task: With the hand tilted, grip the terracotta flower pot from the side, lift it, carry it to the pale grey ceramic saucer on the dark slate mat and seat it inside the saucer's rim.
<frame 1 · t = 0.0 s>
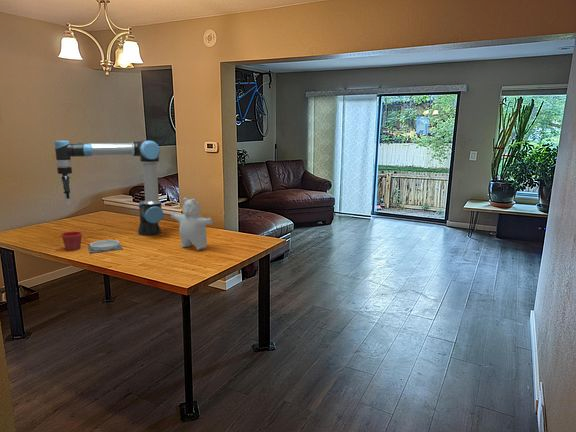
hand: (67, 202, 241), 28 cm above the table, tool pointing down, fingers open, 13 cm apart
bear: (192, 248, 249), on the table
flower pot: (73, 249, 242), on the table
saucer: (105, 247, 246), on the table
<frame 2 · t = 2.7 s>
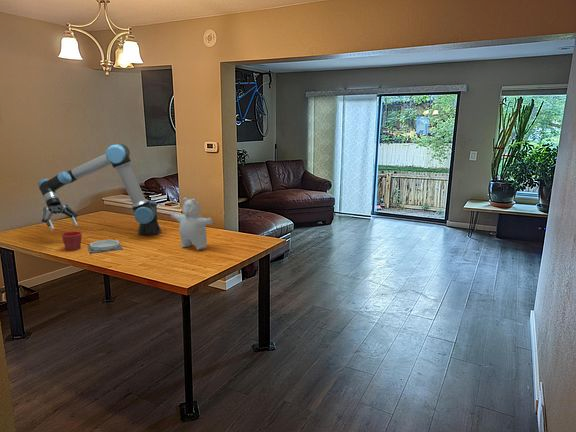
hand: (64, 228, 244), 12 cm above the table, tool tilted 45°, fingers open, 13 cm apart
nothing on the table moved.
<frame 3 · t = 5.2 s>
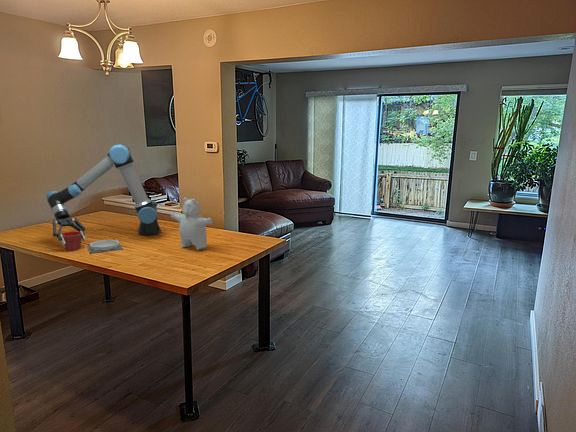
hand: (74, 242, 239), 5 cm above the table, tool tilted 45°, fingers closed on flower pot, 11 cm apart
flower pot: (73, 249, 242), on the table, touching gripper
everything else where it was.
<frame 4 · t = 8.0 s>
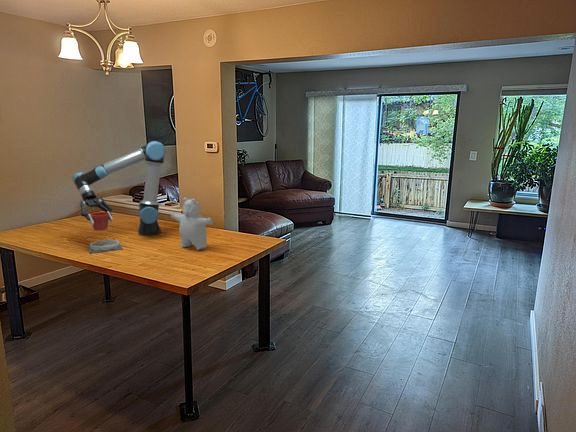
hand: (102, 222, 240), 16 cm above the table, tool tilted 45°, fingers closed on flower pot, 11 cm apart
flower pot: (100, 229, 243), point 12 cm above the table, touching gripper
everything else where it was.
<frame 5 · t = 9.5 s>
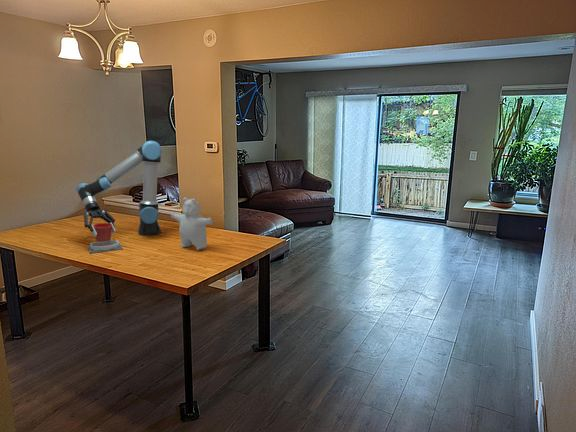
hand: (105, 233, 242), 9 cm above the table, tool tilted 45°, fingers closed on flower pot, 11 cm apart
flower pot: (103, 240, 245), point 5 cm above the table, touching gripper
everything else where it was.
when the fingers open (7 cm above the table, at t = 10.6 s): flower pot drops 1 cm, resting on saucer.
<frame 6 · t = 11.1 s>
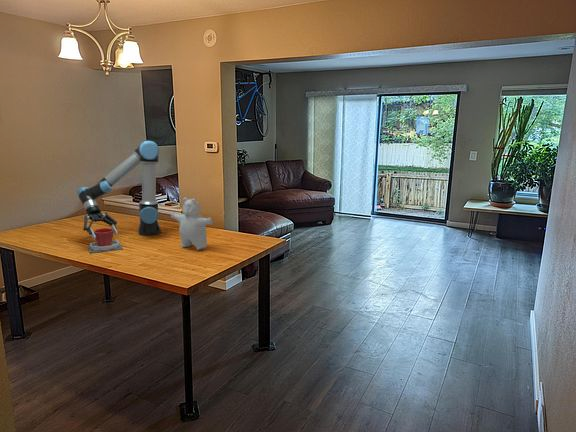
hand: (105, 236, 243), 8 cm above the table, tool tilted 45°, fingers open, 13 cm apart
flower pot: (104, 245, 246), point 1 cm above the table, touching saucer
everything else where it was.
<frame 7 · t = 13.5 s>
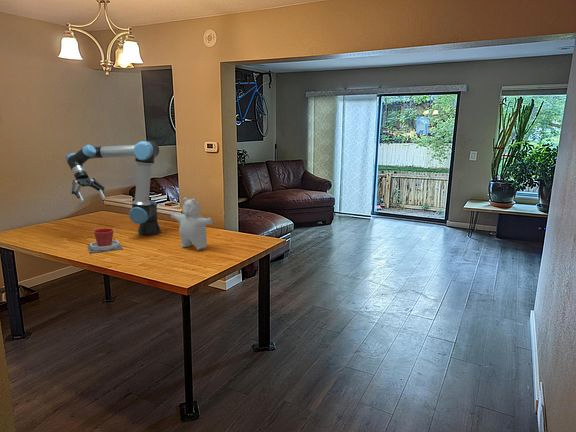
hand: (93, 200, 251), 27 cm above the table, tool tilted 45°, fingers open, 13 cm apart
nothing on the table moved.
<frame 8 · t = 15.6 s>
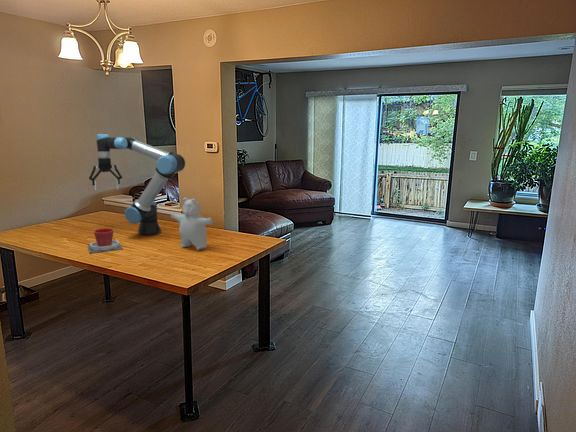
hand: (106, 189, 268), 32 cm above the table, tool pointing down, fingers open, 13 cm apart
nothing on the table moved.
at the end: flower pot 0.1 cm from the saucer (horizontally); flower pot point 1.1 cm above the table; flower pot tilted 0° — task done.
